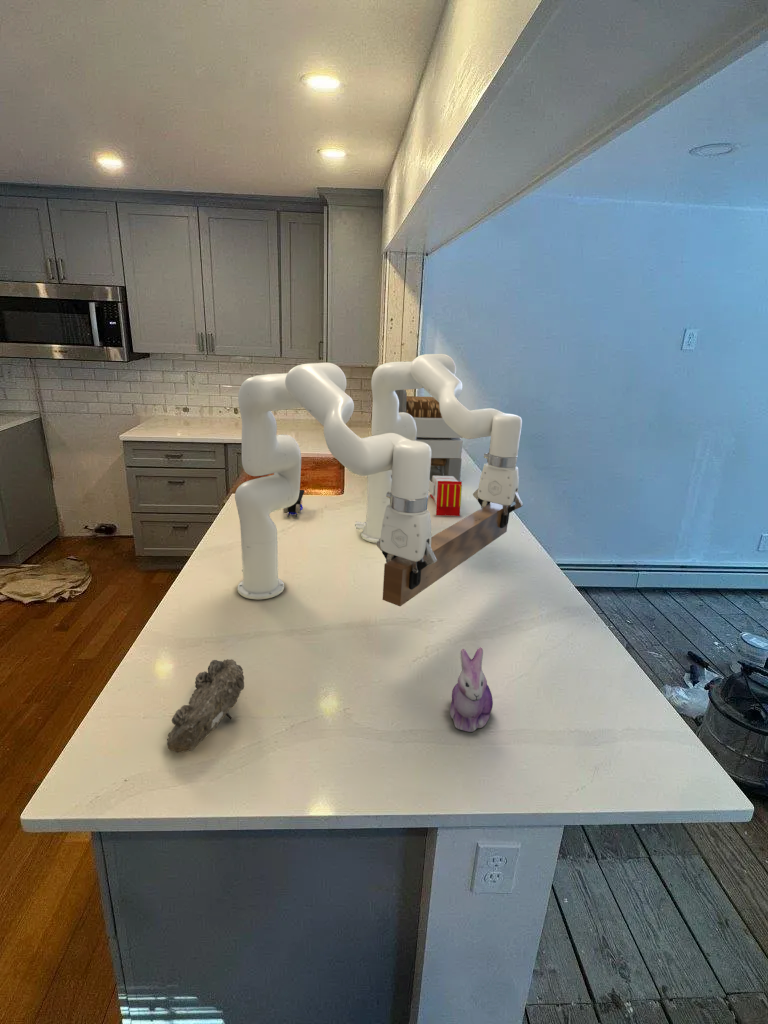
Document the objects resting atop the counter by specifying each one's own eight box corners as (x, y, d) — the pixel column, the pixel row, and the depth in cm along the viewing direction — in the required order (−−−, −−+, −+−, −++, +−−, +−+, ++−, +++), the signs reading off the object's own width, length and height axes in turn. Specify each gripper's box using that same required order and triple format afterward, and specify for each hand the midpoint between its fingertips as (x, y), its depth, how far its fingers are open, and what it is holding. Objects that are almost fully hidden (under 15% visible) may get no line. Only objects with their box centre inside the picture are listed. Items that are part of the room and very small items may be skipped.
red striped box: (454, 471, 244) (466, 482, 214) (452, 502, 246) (464, 517, 217) (426, 471, 243) (434, 481, 214) (424, 501, 246) (432, 516, 217)
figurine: (465, 741, 105) (473, 672, 100) (436, 707, 113) (441, 643, 108) (506, 726, 109) (515, 660, 104) (474, 695, 117) (481, 632, 112)
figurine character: (300, 523, 209) (305, 505, 222) (300, 504, 206) (305, 487, 219) (282, 522, 209) (288, 504, 222) (281, 504, 205) (287, 487, 219)
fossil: (192, 660, 117) (244, 628, 112) (224, 691, 120) (276, 661, 115) (142, 746, 98) (202, 712, 93) (182, 779, 101) (242, 748, 96)
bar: (491, 527, 163) (495, 500, 160) (506, 531, 161) (510, 503, 158) (382, 599, 120) (384, 563, 117) (400, 606, 117) (402, 570, 114)
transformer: (382, 463, 289) (386, 382, 275) (445, 464, 293) (451, 384, 279) (390, 482, 257) (394, 392, 243) (460, 483, 261) (468, 394, 247)
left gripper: (364, 497, 116) (361, 577, 122) (436, 517, 107) (428, 602, 114) (385, 489, 122) (381, 566, 128) (454, 507, 113) (446, 588, 119)
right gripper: (467, 457, 153) (460, 520, 159) (527, 470, 144) (517, 536, 150) (479, 452, 158) (472, 513, 165) (537, 464, 150) (528, 528, 156)
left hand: (403, 582), depth 121 cm, fingers closed on bar, 4 cm apart
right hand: (494, 523), depth 157 cm, fingers closed on bar, 4 cm apart
